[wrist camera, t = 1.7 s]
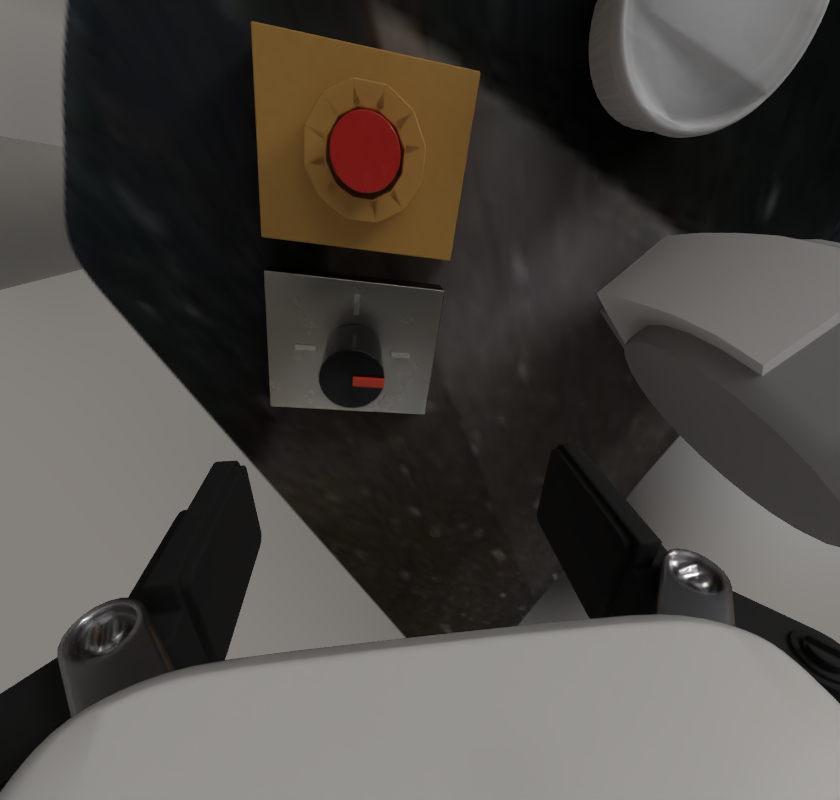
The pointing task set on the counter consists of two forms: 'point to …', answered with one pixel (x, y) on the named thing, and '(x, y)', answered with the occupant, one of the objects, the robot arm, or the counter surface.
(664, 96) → the ramekin
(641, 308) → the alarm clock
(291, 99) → the knob block
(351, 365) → the dial
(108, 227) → the counter surface
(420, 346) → the dial plate
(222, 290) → the counter surface
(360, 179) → the press knob
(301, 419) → the counter surface
